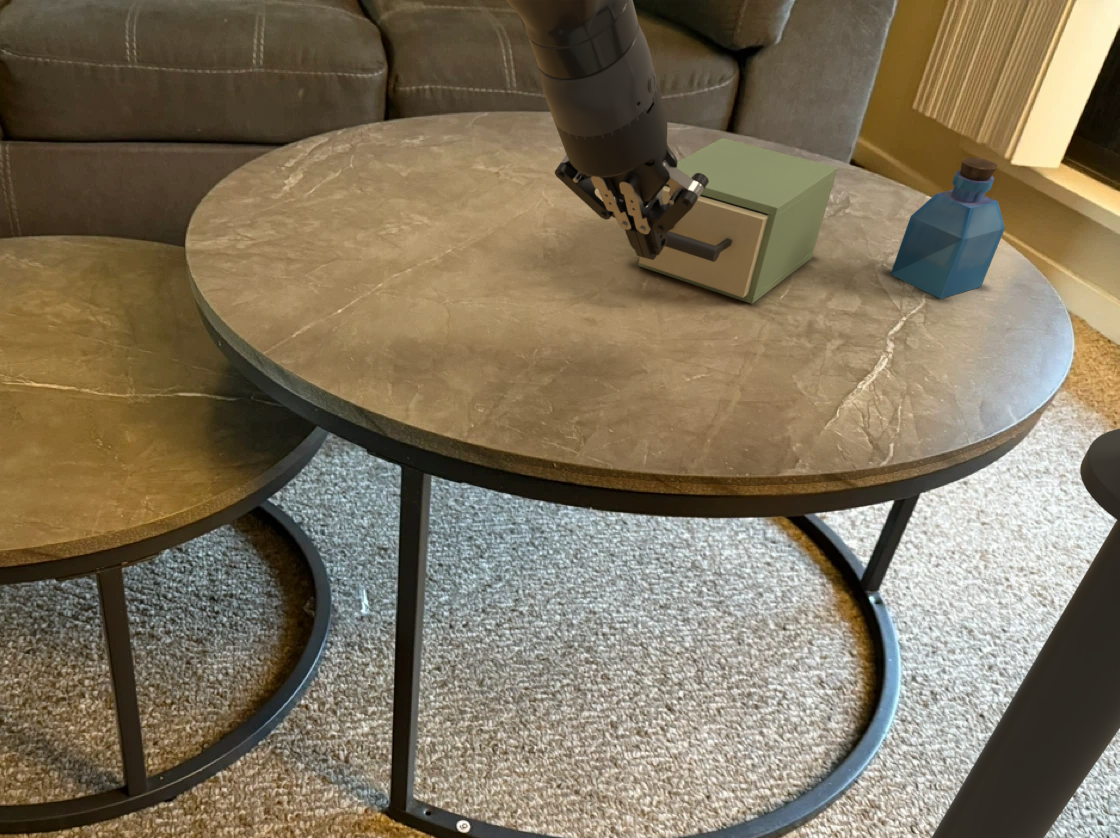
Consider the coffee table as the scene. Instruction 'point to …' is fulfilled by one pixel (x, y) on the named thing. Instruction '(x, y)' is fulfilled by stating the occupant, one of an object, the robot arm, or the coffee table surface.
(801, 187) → the cabinet
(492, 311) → the coffee table surface
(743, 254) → the drawer
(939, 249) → the perfume bottle
